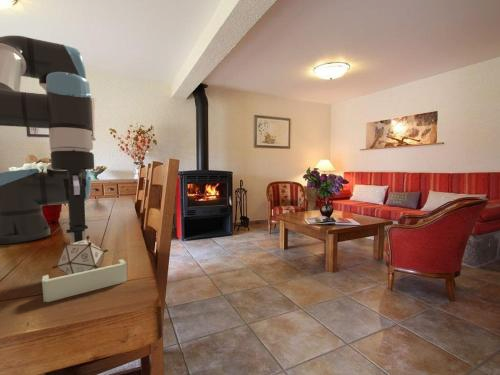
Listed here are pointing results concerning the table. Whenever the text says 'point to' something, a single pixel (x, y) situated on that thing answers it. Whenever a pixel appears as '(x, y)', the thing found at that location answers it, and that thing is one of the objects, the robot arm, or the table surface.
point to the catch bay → (83, 281)
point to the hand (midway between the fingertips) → (79, 260)
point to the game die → (80, 257)
